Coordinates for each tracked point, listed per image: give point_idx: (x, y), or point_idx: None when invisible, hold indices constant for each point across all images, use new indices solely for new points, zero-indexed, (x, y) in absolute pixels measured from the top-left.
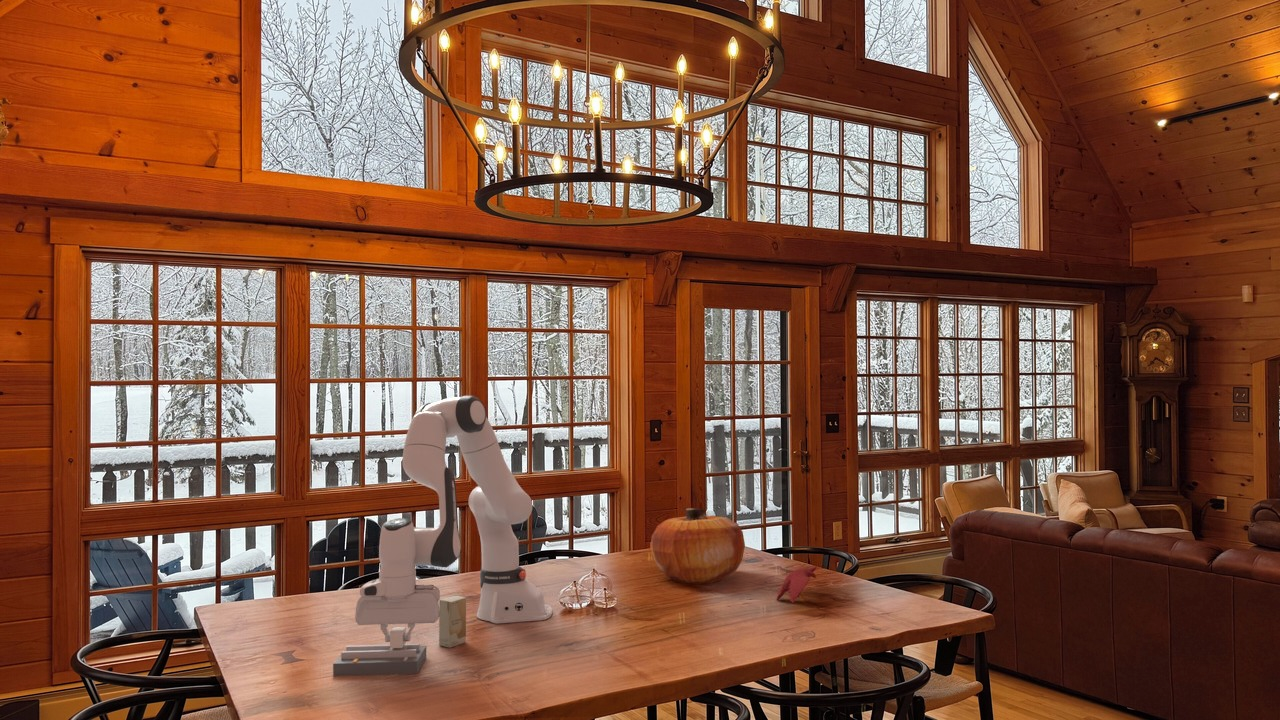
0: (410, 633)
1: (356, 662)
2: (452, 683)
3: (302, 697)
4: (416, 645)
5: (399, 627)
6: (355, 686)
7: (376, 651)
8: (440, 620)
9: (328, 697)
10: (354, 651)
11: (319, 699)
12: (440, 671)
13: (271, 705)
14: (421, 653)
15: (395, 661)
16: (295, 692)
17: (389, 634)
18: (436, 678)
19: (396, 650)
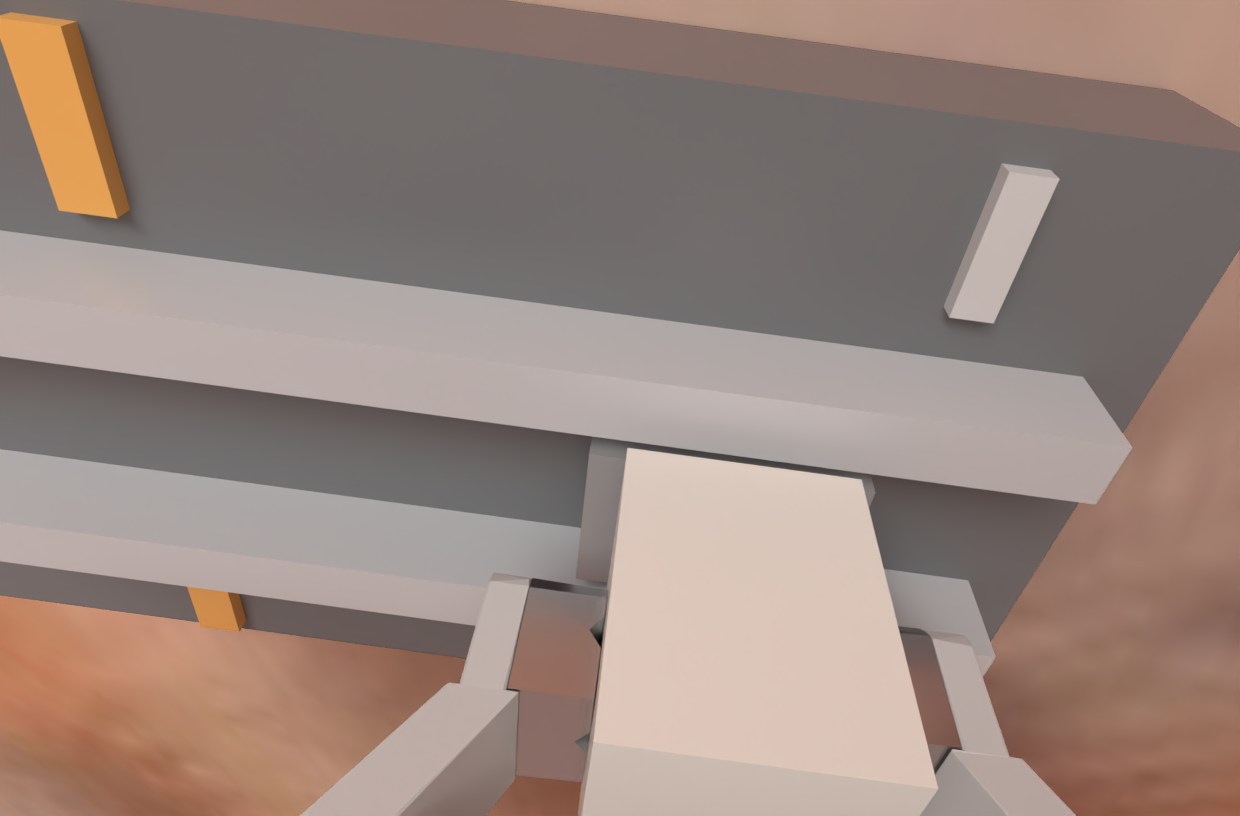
0: (998, 744)
1: (246, 615)
2: (1149, 810)
3: (120, 769)
4: (1044, 493)
5: (758, 780)
6: (402, 709)
7: (411, 614)
8: None
9: (293, 799)
10: (79, 548)
11: (251, 808)
12: (1157, 604)
13: (12, 809)
14: (1061, 523)
15: None
16: (9, 704)
17: (540, 749)
18: (1059, 720)
19: None
